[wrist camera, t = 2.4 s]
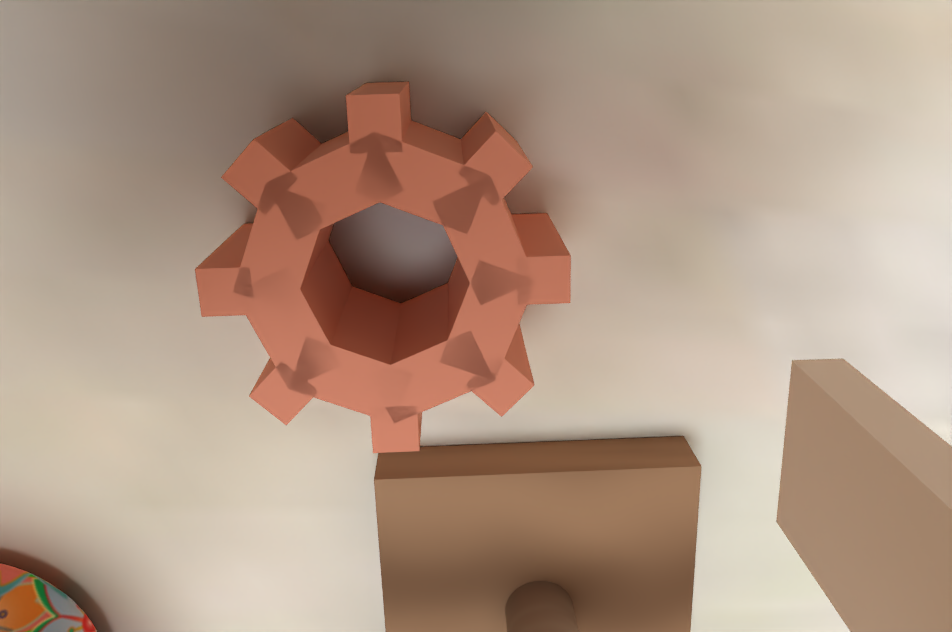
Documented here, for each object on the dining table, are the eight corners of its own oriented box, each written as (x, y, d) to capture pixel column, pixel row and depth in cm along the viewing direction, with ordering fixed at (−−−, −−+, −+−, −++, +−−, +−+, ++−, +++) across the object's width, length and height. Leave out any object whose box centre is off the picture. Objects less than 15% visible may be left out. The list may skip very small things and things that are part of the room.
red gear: (193, 164, 24) (130, 197, 19) (470, 33, 23) (476, 33, 18) (333, 415, 27) (308, 497, 22) (586, 306, 26) (618, 367, 21)
